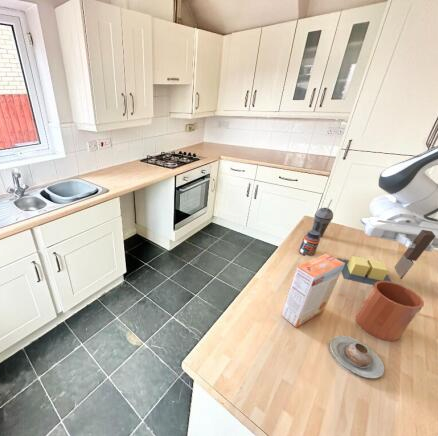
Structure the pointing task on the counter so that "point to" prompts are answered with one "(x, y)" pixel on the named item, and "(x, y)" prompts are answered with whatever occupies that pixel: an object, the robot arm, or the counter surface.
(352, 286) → the counter surface
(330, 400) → the counter surface
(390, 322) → the crock
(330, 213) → the beverage cup
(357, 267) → the butter
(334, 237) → the counter surface
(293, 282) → the cracker box
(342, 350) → the grey lid
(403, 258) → the knife
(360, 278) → the butter dish
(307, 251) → the supplement bottle
